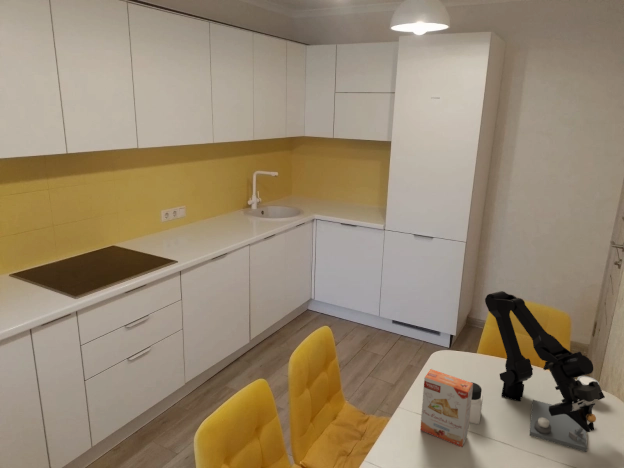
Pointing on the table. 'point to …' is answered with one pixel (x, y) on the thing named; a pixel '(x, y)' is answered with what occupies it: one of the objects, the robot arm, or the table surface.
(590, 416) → the toggle lever
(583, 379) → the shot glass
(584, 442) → the switch panel
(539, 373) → the table surface
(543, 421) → the push button
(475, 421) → the medicine bottle
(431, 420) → the cracker box
